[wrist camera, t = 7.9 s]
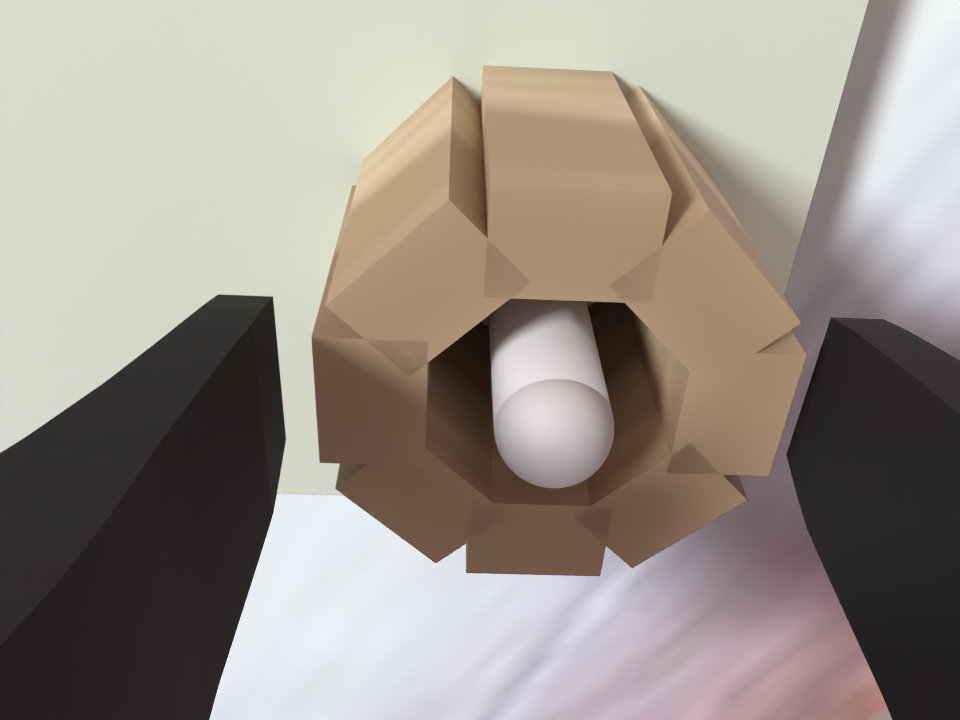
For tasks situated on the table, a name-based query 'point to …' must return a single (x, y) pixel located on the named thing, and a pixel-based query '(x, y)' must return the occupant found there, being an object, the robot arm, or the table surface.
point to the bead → (546, 276)
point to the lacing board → (348, 174)
